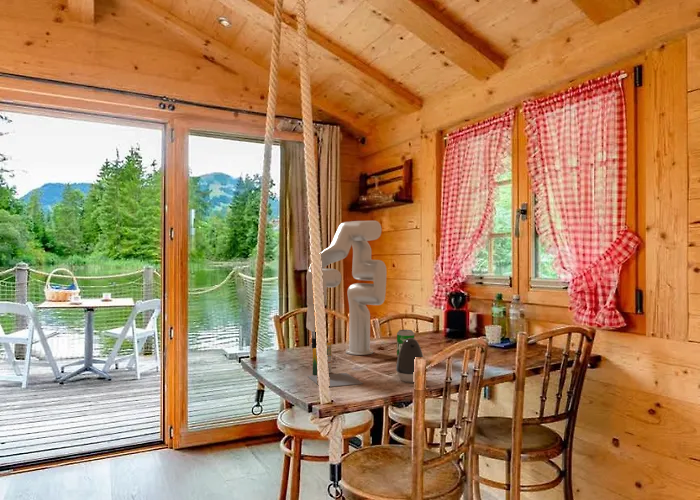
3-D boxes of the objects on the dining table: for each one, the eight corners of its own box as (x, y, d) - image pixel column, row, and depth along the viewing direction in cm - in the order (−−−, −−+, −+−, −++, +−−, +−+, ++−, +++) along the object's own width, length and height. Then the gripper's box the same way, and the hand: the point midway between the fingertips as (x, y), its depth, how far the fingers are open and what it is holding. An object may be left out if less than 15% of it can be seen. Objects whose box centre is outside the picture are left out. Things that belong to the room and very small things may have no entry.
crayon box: (326, 371, 189) (326, 341, 189) (331, 372, 187) (332, 342, 187) (312, 374, 184) (312, 343, 184) (317, 376, 182) (317, 344, 182)
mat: (307, 376, 180) (307, 376, 180) (346, 373, 186) (346, 372, 186) (322, 388, 165) (322, 387, 165) (363, 383, 171) (363, 383, 171)
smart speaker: (398, 384, 170) (399, 340, 170) (394, 377, 180) (394, 335, 181) (428, 384, 171) (428, 340, 171) (421, 377, 181) (421, 335, 181)
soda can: (394, 357, 217) (394, 329, 217) (409, 356, 219) (410, 328, 219) (401, 360, 210) (401, 332, 210) (417, 359, 212) (417, 331, 212)
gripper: (301, 299, 198) (301, 345, 197) (313, 303, 184) (312, 352, 184) (319, 299, 200) (319, 344, 200) (332, 302, 187) (331, 351, 186)
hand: (316, 348), depth 192 cm, fingers closed
